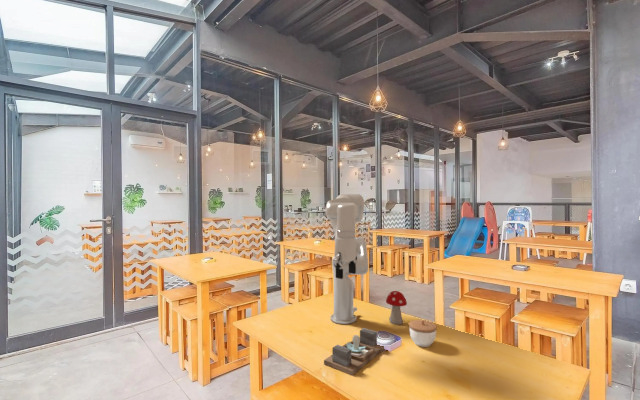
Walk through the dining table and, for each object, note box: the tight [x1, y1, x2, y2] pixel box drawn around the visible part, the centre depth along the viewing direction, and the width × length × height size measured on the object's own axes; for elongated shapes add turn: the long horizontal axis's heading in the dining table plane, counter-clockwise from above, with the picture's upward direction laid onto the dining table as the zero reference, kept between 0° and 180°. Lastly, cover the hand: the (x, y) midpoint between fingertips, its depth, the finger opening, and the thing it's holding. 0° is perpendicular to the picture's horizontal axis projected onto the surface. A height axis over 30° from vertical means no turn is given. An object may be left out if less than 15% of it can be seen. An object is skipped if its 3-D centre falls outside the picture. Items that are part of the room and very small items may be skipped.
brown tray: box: [323, 327, 385, 376], centre depth 125 cm, size 24×12×6 cm, turn 143°
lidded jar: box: [408, 319, 438, 348], centre depth 136 cm, size 11×11×9 cm
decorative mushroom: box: [385, 290, 407, 326], centre depth 158 cm, size 10×9×15 cm
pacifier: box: [347, 334, 366, 356], centre depth 125 cm, size 7×6×6 cm
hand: (345, 275), depth 137 cm, fingers open, 9 cm apart
